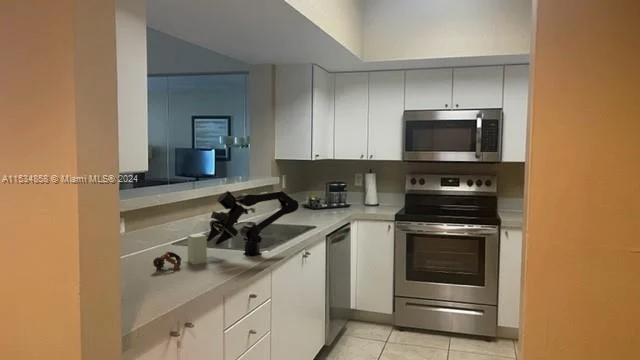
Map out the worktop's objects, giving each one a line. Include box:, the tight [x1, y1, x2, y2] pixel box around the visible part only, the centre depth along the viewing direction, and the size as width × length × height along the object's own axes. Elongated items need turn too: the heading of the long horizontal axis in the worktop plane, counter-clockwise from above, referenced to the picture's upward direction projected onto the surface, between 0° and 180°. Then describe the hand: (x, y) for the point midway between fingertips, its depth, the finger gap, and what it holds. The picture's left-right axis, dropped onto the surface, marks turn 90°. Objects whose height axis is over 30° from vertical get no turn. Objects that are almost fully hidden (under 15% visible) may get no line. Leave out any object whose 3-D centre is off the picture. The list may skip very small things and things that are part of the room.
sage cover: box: [186, 233, 208, 264], centre depth 211 cm, size 6×7×12 cm
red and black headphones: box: [152, 251, 182, 271], centre depth 199 cm, size 12×10×8 cm
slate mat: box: [182, 255, 225, 267], centre depth 213 cm, size 15×11×1 cm
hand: (211, 242), depth 215 cm, fingers open, 9 cm apart
